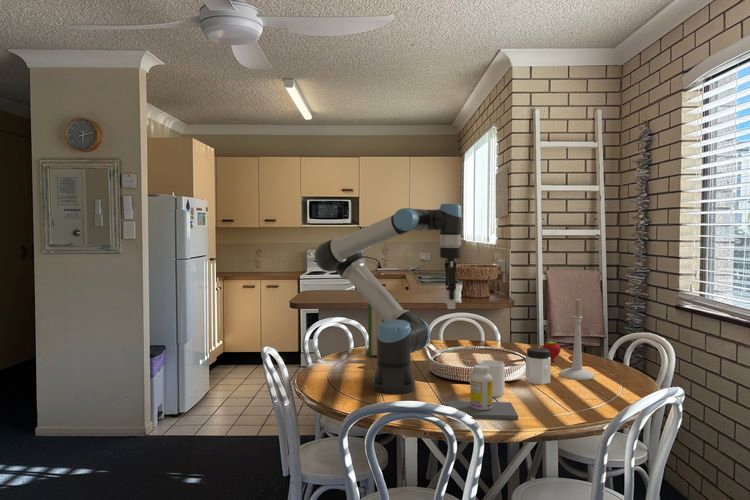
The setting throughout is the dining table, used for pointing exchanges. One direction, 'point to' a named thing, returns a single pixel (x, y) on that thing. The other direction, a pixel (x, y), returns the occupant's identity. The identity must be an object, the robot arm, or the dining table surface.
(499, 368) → the mug
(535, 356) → the jar
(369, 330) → the hardback book
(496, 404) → the mat
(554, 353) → the strawberry
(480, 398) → the supplement bottle
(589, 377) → the candlestick
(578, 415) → the dining table surface
